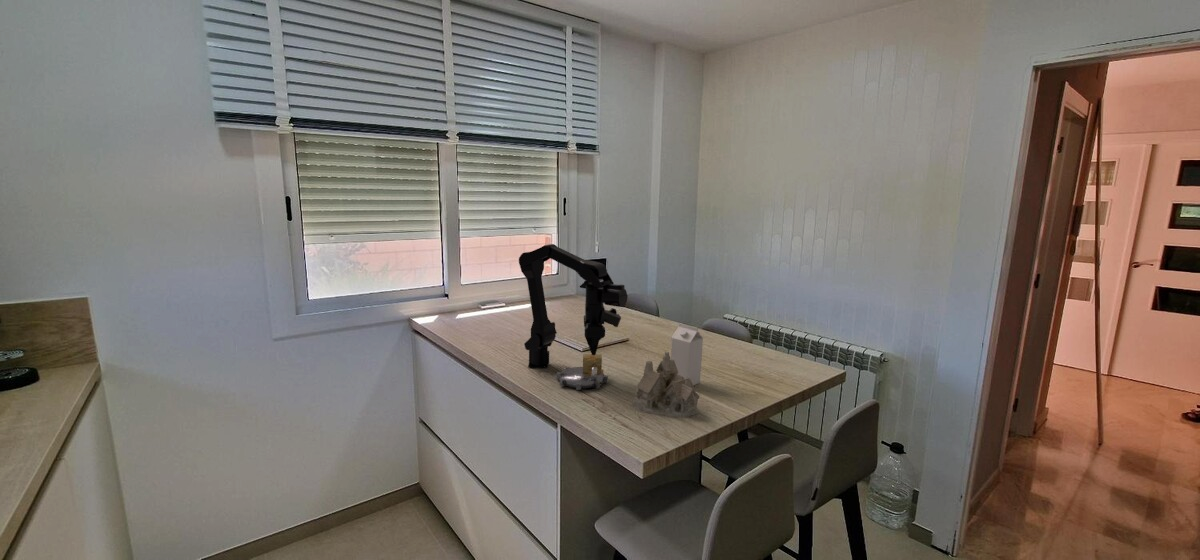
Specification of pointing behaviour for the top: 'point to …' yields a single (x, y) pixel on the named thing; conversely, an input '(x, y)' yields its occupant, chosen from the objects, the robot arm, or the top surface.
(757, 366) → the top surface
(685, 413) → the ceramic cottage
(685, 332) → the milk carton
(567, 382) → the sprocket
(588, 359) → the orange banded block
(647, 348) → the top surface
